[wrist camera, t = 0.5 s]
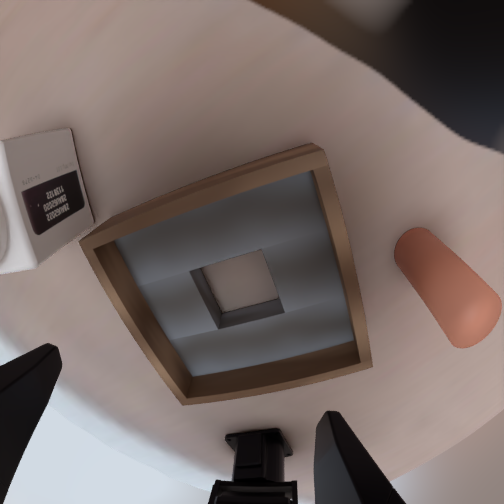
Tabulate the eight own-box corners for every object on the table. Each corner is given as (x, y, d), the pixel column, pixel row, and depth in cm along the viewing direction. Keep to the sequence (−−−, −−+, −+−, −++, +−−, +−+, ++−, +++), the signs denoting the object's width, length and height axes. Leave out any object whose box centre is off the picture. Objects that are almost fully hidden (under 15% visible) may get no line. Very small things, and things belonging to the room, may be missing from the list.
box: (359, 328, 24) (372, 366, 20) (193, 368, 27) (182, 405, 23) (311, 142, 18) (323, 149, 14) (109, 218, 21) (78, 241, 17)
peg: (437, 264, 21) (497, 333, 13) (397, 278, 22) (447, 357, 14) (433, 221, 20) (504, 281, 12) (391, 235, 20) (449, 306, 12)
